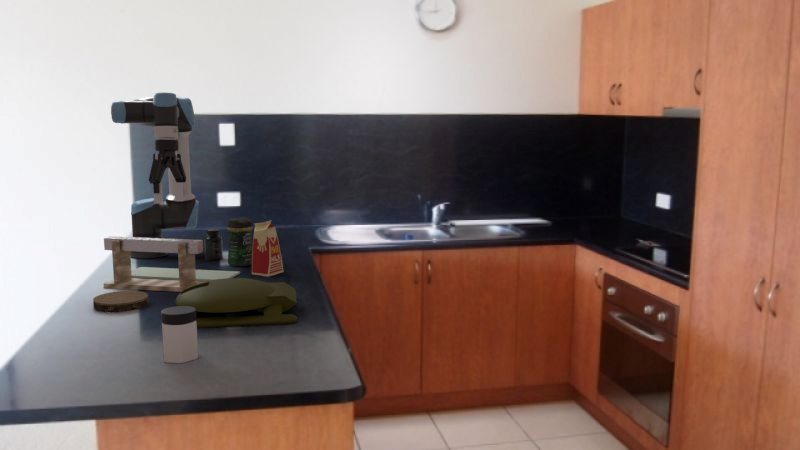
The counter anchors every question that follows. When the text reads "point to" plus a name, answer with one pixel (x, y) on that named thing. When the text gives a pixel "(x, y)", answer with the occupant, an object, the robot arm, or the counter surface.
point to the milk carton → (266, 250)
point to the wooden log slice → (120, 301)
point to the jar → (179, 334)
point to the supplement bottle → (213, 245)
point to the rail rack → (127, 282)
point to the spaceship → (240, 301)
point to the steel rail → (154, 244)
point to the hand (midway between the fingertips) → (169, 202)
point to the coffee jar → (240, 241)
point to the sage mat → (174, 274)
